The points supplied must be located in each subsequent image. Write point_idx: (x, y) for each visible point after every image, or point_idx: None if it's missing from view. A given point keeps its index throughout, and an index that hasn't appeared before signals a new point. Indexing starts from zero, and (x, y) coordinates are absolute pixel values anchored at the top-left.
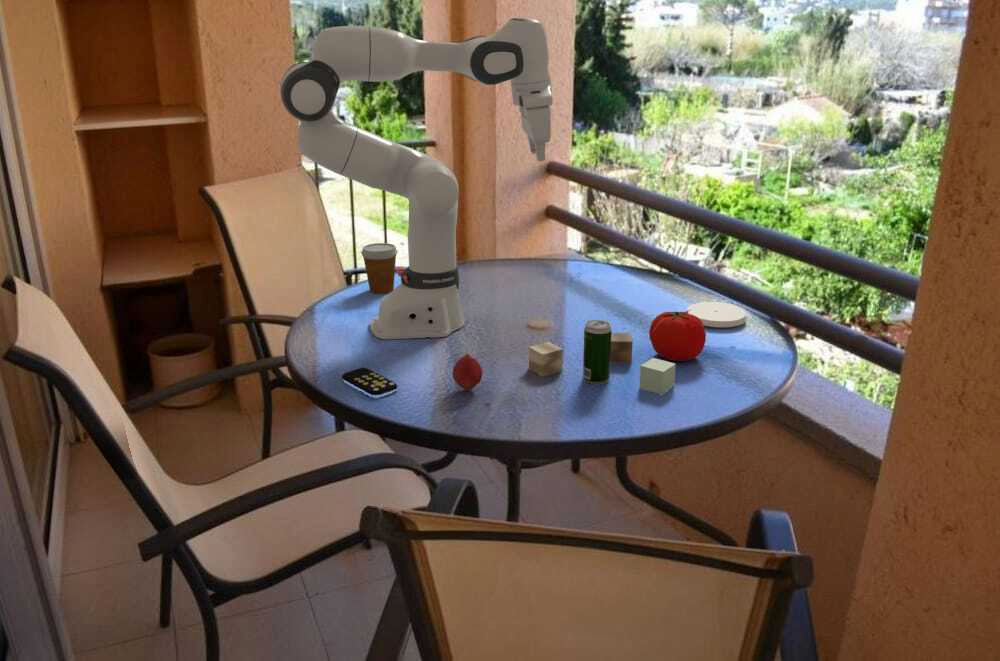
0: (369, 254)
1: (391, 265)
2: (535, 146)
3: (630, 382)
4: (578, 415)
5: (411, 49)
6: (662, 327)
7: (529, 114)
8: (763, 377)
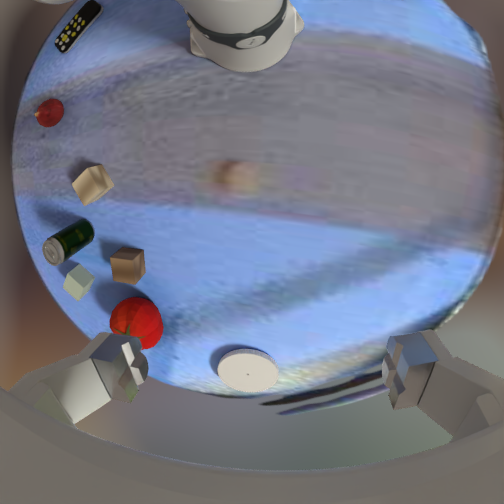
0: None
1: None
2: (398, 391)
3: (87, 259)
4: (37, 209)
5: None
6: (114, 315)
7: None
8: None
